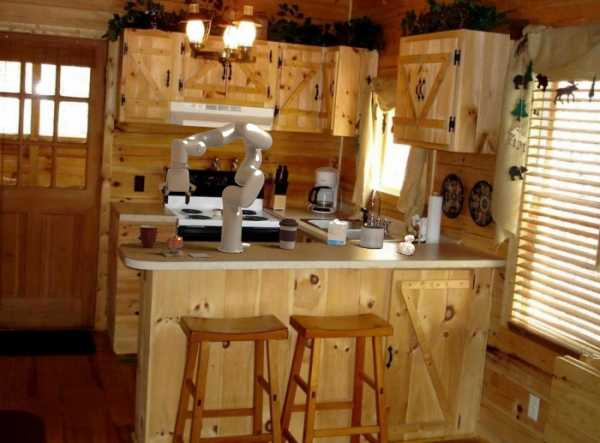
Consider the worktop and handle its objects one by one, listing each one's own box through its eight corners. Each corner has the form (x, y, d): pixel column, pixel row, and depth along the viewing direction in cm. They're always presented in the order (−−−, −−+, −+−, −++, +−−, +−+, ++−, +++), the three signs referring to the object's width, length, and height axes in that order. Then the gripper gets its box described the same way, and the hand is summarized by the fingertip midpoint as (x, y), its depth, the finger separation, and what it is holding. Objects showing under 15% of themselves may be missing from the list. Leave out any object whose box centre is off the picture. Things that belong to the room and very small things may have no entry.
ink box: (342, 246, 438) (344, 221, 436) (326, 244, 440) (328, 219, 438) (345, 244, 446) (347, 219, 444) (330, 242, 448) (332, 218, 447)
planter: (376, 250, 433) (378, 229, 431) (355, 246, 439) (357, 226, 437) (386, 247, 444) (388, 227, 442) (365, 244, 450) (367, 224, 448)
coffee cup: (274, 248, 414) (276, 219, 412) (281, 245, 424) (283, 217, 422) (292, 250, 411) (294, 221, 409) (299, 248, 420) (301, 219, 418)
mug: (158, 249, 386) (159, 228, 385) (141, 249, 384) (142, 228, 382) (155, 245, 396) (156, 225, 395) (138, 245, 393) (139, 225, 392)
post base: (181, 252, 383) (182, 238, 382) (188, 256, 374) (188, 241, 373) (160, 253, 378) (161, 238, 377) (166, 257, 369) (167, 241, 368)
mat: (204, 254, 383) (204, 253, 383) (210, 257, 376) (210, 256, 376) (188, 254, 380) (188, 253, 380) (193, 257, 373) (193, 256, 373)
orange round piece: (179, 245, 380) (180, 235, 379) (184, 247, 374) (184, 237, 373) (165, 245, 377) (165, 235, 376) (169, 247, 371) (170, 237, 370)
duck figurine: (413, 260, 422) (425, 243, 424) (405, 252, 418) (417, 234, 421) (399, 256, 432) (410, 239, 434) (390, 247, 428) (402, 230, 431)
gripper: (194, 166, 378) (192, 203, 380) (157, 164, 370) (155, 202, 372) (199, 168, 371) (197, 205, 373) (162, 166, 363) (160, 204, 366)
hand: (176, 204), depth 373 cm, fingers open, 9 cm apart
